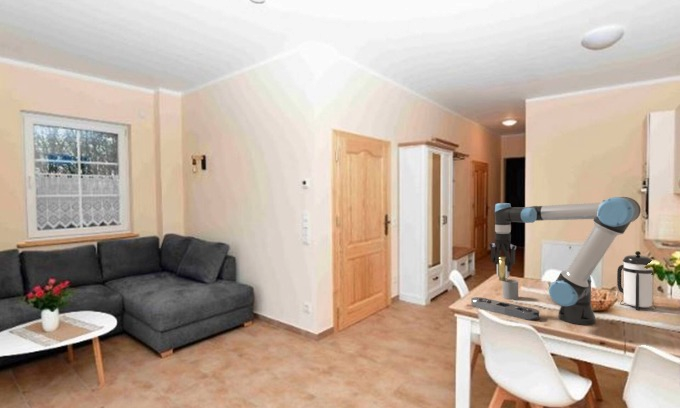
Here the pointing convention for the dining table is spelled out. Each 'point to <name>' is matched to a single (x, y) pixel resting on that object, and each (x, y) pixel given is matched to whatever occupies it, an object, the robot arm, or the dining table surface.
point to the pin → (502, 268)
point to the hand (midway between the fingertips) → (502, 276)
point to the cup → (510, 289)
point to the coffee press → (636, 281)
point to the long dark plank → (505, 308)
